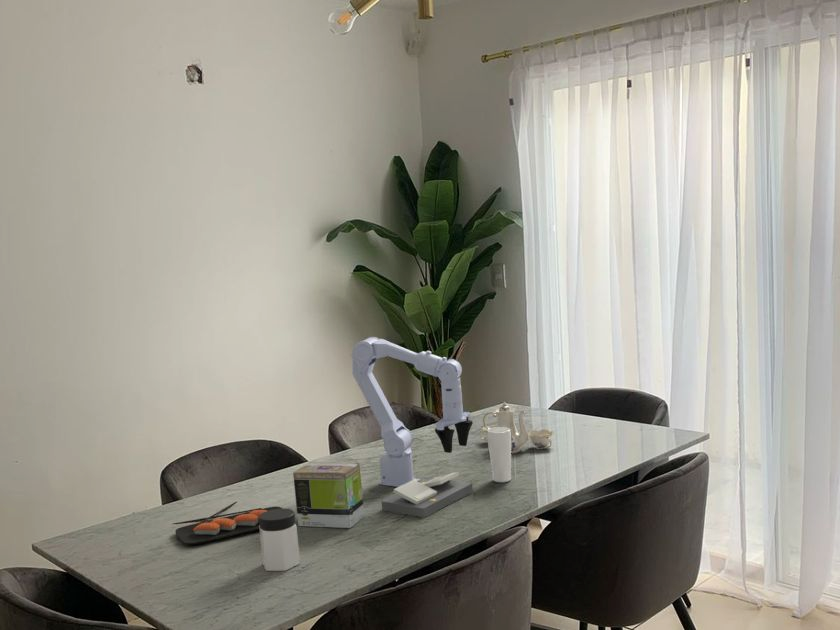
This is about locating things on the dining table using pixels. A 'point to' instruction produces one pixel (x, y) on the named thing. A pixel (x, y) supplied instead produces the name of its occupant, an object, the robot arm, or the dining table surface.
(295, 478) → the tea box
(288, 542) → the jar
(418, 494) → the switch
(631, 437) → the dining table surface
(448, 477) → the switch
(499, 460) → the drinking glass
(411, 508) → the switch panel
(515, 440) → the chinaware
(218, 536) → the sushi plate
